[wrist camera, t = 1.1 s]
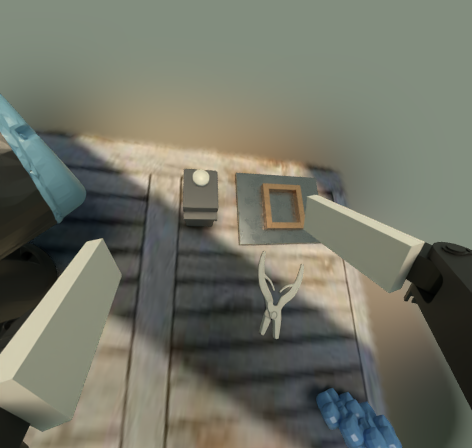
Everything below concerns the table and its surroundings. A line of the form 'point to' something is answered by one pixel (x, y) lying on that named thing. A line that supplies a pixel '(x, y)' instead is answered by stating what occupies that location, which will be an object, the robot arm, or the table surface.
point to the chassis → (273, 208)
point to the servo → (200, 197)
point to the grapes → (356, 421)
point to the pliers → (272, 310)
